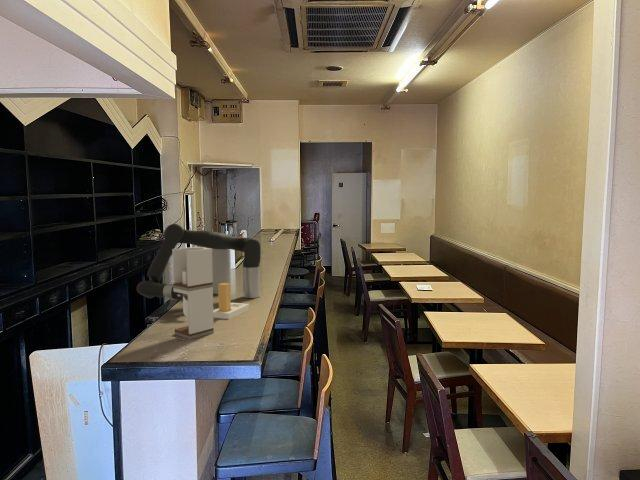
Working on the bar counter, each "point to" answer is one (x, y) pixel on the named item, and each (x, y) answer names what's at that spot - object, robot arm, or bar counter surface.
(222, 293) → the plug
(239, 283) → the bar counter surface
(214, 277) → the cylinder vase
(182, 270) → the white tower
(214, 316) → the white socket board
